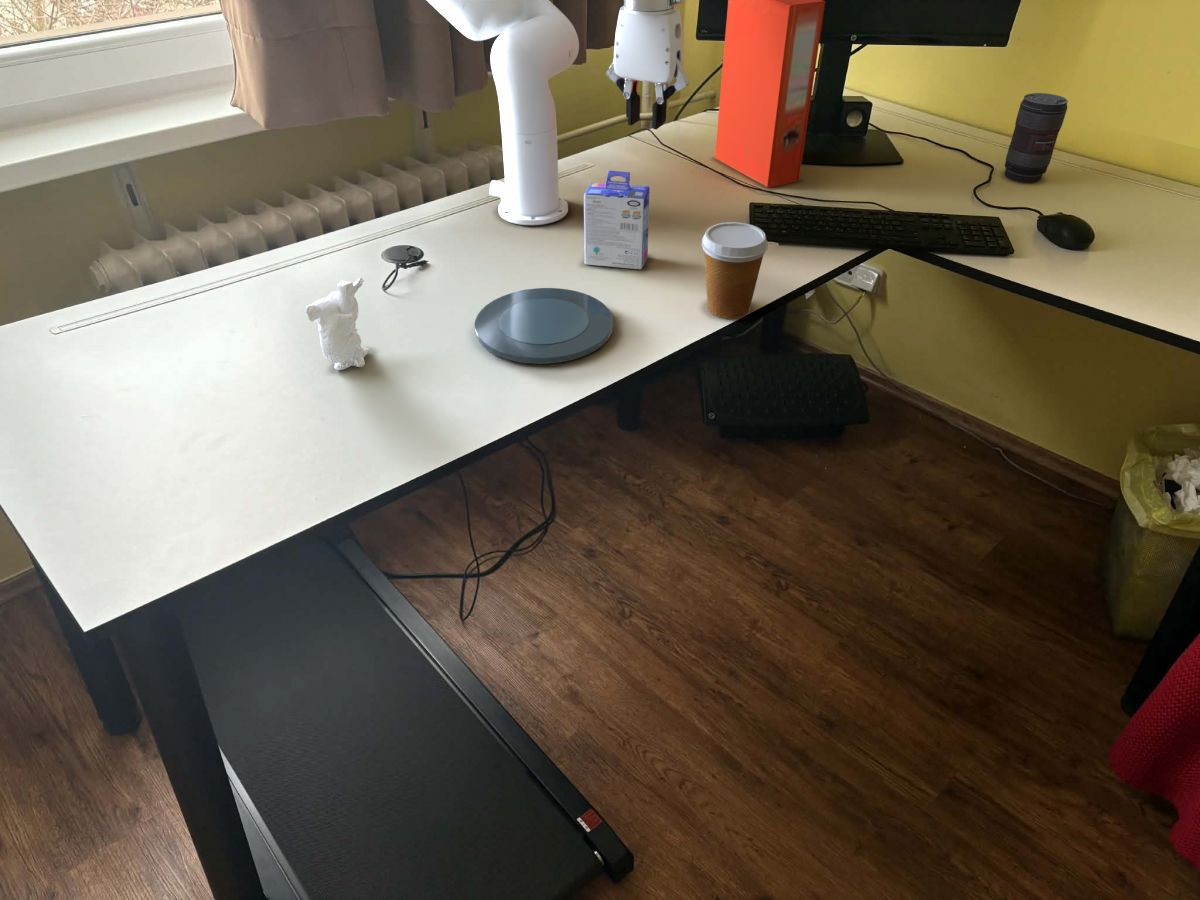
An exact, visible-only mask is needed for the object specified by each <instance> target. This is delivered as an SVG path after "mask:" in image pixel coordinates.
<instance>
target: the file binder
mask: <svg viewBox="0 0 1200 900" xmlns="http://www.w3.org/2000/svg"><path fill="white" fill-rule="evenodd" d="M825 5H826V1H825V0H727V13H726V23H725V34H724V46H723V47H724V48H723V59H722V69H721V82H720V92H719V103H718V117H717V126H716V127H717V128H716V139H715V141H716V142H715V151H714V152H715V153H714V159H715V160H717V161H719V162H720V163H722V164H724V165H726V166H728V167H730V168H732V169H733V170H735V171H737V172H739V173H741V174H743V175H744V176H746V177H748V178H750V179H752V180H754V181H755V182H757V183H759V184H760V185H762V186H764V187H766V188H770V189H771V188H775V187H778V186H782V185H787V184H791V183H796V182H799V180H800V176H801V168H802V163H803V156H804V150H805V143H806V135H807V130H808V121H809V116H810V108H811V101H812V94H813V89H814V88H813V87H814V81H815V74H816V67H817V59H818V53H819V47H820V40H821V32H822V26H823V20H824V11H825Z"/></svg>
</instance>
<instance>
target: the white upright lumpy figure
mask: <svg viewBox="0 0 1200 900" xmlns="http://www.w3.org/2000/svg"><path fill="white" fill-rule="evenodd" d="M364 281H365V279H363V278H362V277H359V278H358V279H356V281H355V282H352V281H350V280H339V282H338V283H337V291H335V290H333V291H332V292H330V293H329V295H328V296H327V297H324V298H321V299H318V300H316V301H314V302H313V303H312V304H311V303H309V304H306V307H305V313H306V318H307V319H308V320H309V321H310V322H311V323H313V322H315V323H317V324H318V326H317V330H318V336H319V345H320V349H321V352H322V354H323V357H324V358H326V360H327V361H329V362H330V363H333V364H334V369H335V371H342V370H345V369H348V368H349V367H351V366H353V367H358V368H362V367H364V366H365V364H366V362H365V357H366V356H367V355H368V354H370V349H369V348H367V347H362V338H361V335H360V334H359V333H358V328H357V327H356V326H357V324H356V321H357V320H358V317H359V303H358V301H357V299H356V298H357V297H355V294H356V293H357V292H358V290H359V289H360V288H362V286H363V284H364Z"/></svg>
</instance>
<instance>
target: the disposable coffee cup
mask: <svg viewBox="0 0 1200 900" xmlns="http://www.w3.org/2000/svg"><path fill="white" fill-rule="evenodd" d="M700 242H701V247H702V250H703V251H704V252H703V253H704V267H705V269H704V270H705V287H706V301H707V302H706V303H707V306H706V307H707V310H708V312H709V313H710V314H711V315H713V316H715V317H717V318H721V319H725V320H733V319H736V320H737V319H741V318H743V317H745V316H747V315H748V314H749V313H750V309H751V305H752V301H753V298H754V294H755V289H756V287H757V286H756V285H757V281H758V278H759V274H760V270H761V266H762V262H763V258H764V255H765V254H766V251H767V250H768V248H769V242H768V240H767V236H766V233H765V232H764V230H763V229H761V228H760V227H758V226H756V225H753V224H750V223H745V222H740V221H727V222H726V221H725V222H720V223H716V224H714V225H712V226H709V227H708V228H707V229H706V230H705V233H704V235H703V237H702V238H701V241H700Z"/></svg>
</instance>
